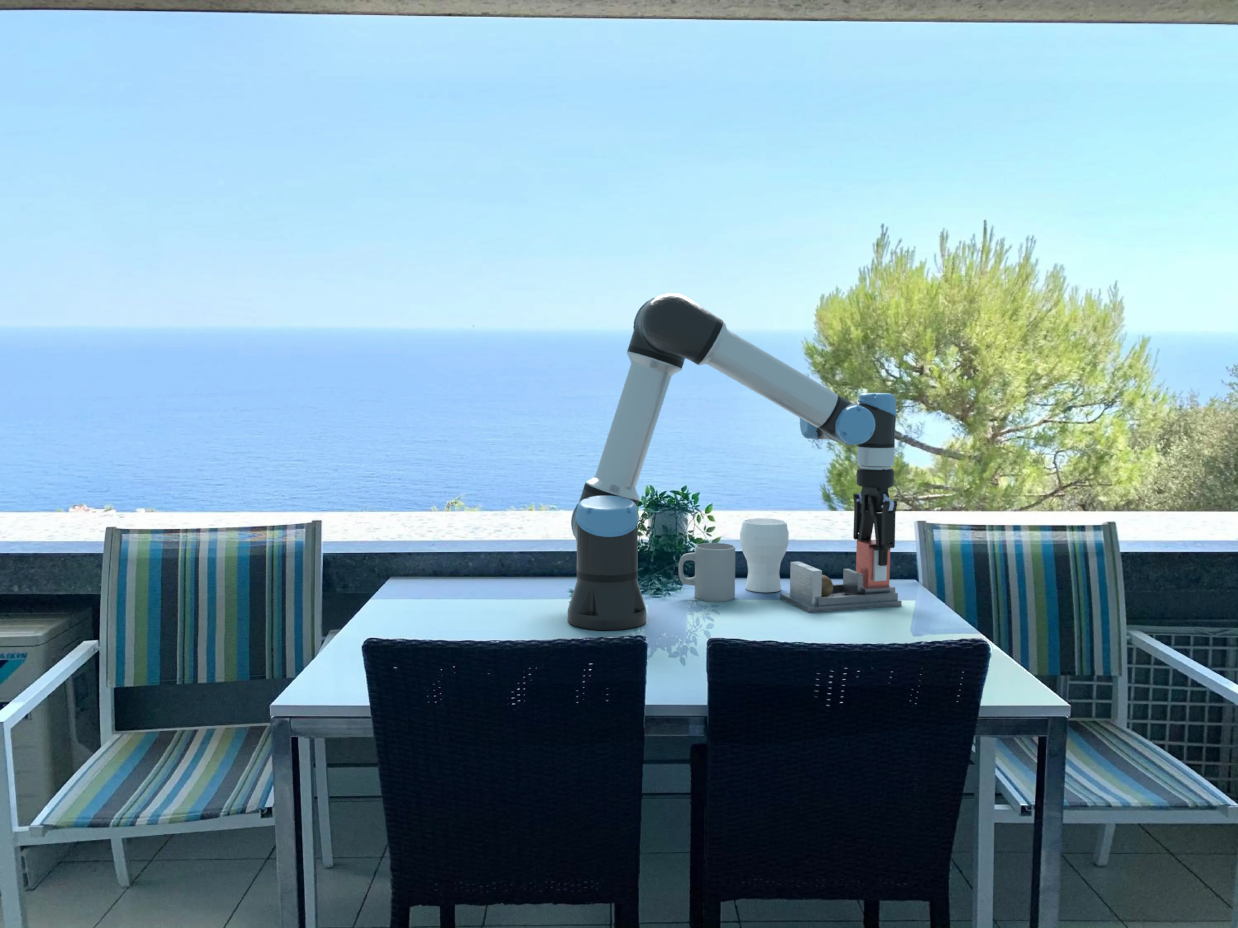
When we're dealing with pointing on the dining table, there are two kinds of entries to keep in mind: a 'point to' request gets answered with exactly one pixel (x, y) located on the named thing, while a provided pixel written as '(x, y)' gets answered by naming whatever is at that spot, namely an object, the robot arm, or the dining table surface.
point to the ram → (865, 572)
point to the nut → (826, 586)
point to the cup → (764, 552)
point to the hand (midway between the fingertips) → (872, 577)
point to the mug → (711, 571)
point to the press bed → (809, 595)
